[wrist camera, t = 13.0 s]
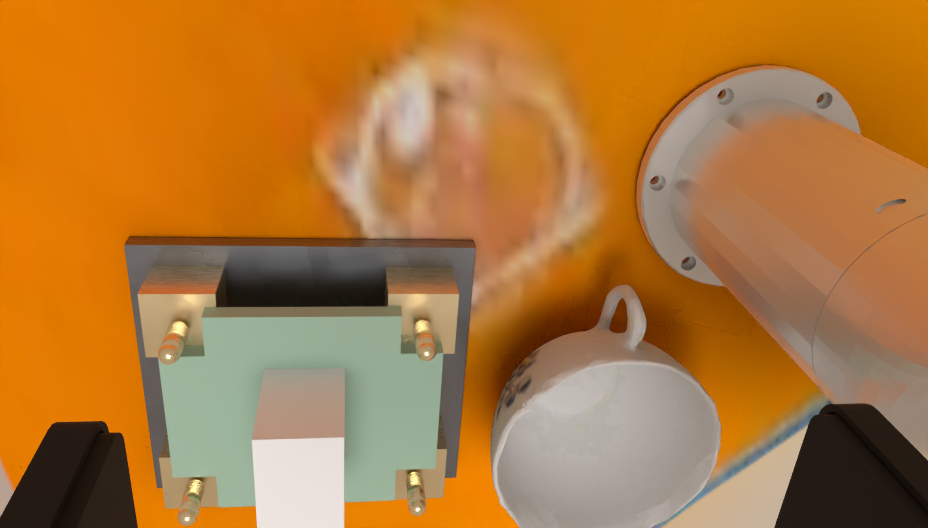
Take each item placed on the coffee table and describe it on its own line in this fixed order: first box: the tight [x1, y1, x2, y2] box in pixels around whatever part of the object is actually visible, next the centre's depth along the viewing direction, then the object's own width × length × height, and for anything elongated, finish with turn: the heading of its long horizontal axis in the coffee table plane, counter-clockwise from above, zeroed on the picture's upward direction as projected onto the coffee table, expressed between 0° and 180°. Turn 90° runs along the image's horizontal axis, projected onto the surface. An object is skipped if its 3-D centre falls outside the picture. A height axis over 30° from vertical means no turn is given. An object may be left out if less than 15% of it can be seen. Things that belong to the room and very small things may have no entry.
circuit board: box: [158, 307, 443, 528], centre depth 38 cm, size 14×12×6 cm
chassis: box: [124, 237, 476, 526], centre depth 42 cm, size 18×16×7 cm
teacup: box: [491, 285, 721, 528], centre depth 44 cm, size 15×12×8 cm
